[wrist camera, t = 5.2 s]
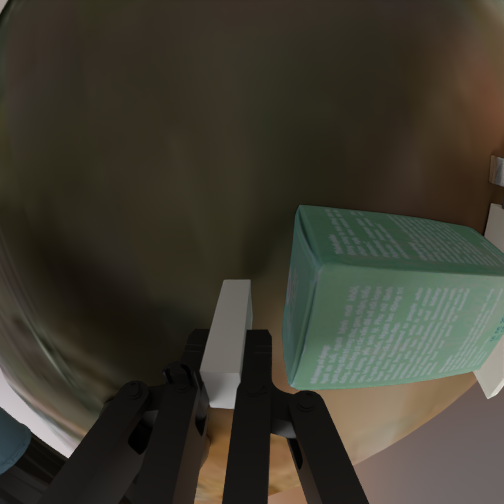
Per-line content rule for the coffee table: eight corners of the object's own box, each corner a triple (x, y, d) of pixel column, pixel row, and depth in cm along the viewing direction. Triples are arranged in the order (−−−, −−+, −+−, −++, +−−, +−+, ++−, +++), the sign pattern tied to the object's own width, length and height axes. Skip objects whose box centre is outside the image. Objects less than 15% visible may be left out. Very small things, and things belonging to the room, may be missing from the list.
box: (290, 200, 15) (310, 267, 8) (469, 223, 15) (535, 275, 8) (279, 306, 18) (283, 398, 12) (439, 306, 18) (481, 371, 11)
